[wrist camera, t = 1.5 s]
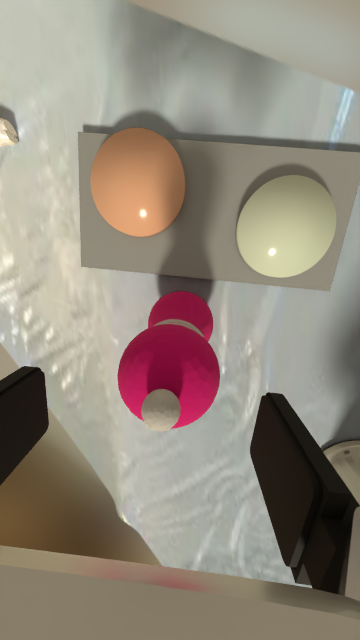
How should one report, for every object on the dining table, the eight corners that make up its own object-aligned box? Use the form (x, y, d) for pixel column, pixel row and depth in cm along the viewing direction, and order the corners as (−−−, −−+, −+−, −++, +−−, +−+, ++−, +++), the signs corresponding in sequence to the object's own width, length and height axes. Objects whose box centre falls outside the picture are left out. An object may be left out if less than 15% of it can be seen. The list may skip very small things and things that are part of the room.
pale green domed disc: (338, 184, 22) (348, 179, 21) (314, 280, 25) (322, 281, 23) (243, 177, 23) (246, 171, 21) (228, 272, 25) (231, 273, 24)
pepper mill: (169, 277, 27) (106, 308, 8) (219, 302, 27) (282, 389, 8) (147, 326, 29) (52, 451, 10) (195, 349, 29) (198, 512, 10)
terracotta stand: (190, 140, 22) (189, 131, 21) (181, 241, 25) (180, 239, 23) (96, 133, 23) (89, 124, 21) (96, 233, 25) (91, 231, 24)
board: (358, 158, 23) (367, 153, 21) (323, 289, 26) (329, 291, 25) (83, 138, 24) (78, 131, 23) (86, 266, 27) (81, 266, 26)
